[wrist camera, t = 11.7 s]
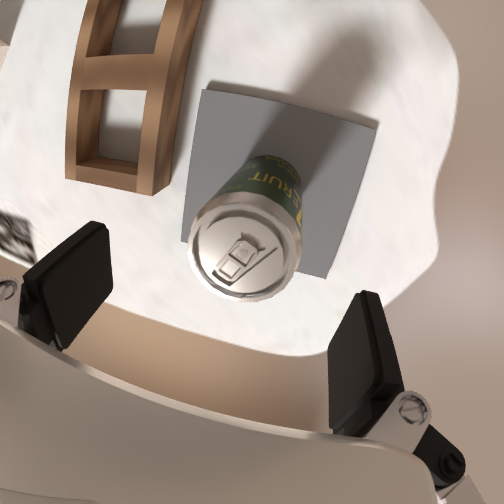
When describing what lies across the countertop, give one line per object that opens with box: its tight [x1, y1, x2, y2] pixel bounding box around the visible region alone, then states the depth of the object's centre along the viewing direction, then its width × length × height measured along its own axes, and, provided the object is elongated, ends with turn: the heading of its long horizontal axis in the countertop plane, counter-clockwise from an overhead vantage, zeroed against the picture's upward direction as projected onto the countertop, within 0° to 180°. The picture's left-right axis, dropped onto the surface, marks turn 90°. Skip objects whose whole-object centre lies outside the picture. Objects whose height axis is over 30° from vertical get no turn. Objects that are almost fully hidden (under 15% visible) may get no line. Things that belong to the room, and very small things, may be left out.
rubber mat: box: [181, 89, 376, 279], centre depth 24 cm, size 14×14×1 cm
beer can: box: [187, 155, 302, 302], centre depth 18 cm, size 5×5×12 cm
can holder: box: [65, 0, 203, 196], centre depth 19 cm, size 20×10×4 cm, turn 169°
